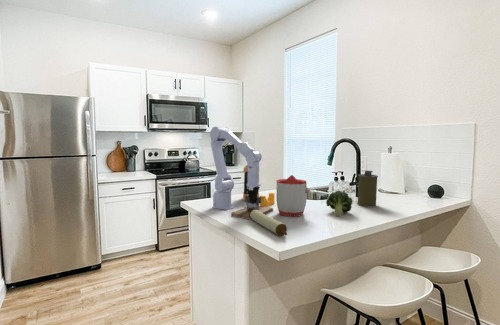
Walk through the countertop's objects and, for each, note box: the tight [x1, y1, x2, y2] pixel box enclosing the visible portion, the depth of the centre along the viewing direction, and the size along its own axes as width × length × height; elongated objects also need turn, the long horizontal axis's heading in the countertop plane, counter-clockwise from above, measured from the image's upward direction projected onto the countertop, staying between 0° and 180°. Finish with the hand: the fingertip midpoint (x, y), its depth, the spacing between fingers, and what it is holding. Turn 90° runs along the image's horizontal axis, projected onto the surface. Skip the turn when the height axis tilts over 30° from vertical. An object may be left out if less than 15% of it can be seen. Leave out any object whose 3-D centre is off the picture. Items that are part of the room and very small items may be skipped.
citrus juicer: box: [275, 174, 312, 217], centre depth 147 cm, size 16×17×20 cm
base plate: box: [231, 205, 274, 220], centre depth 149 cm, size 13×20×2 cm, turn 150°
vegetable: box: [325, 190, 353, 217], centre depth 150 cm, size 12×13×15 cm
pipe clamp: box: [259, 192, 276, 207], centre depth 167 cm, size 12×4×6 cm, turn 146°
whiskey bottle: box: [242, 147, 260, 202], centre depth 180 cm, size 10×10×32 cm
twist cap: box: [245, 195, 261, 211], centre depth 148 cm, size 6×8×7 cm
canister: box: [356, 170, 379, 208], centre depth 169 cm, size 11×10×20 cm
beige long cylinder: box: [249, 209, 288, 237], centre depth 126 cm, size 32×6×5 cm, turn 25°
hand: (253, 201), depth 148 cm, fingers closed on twist cap, 4 cm apart
